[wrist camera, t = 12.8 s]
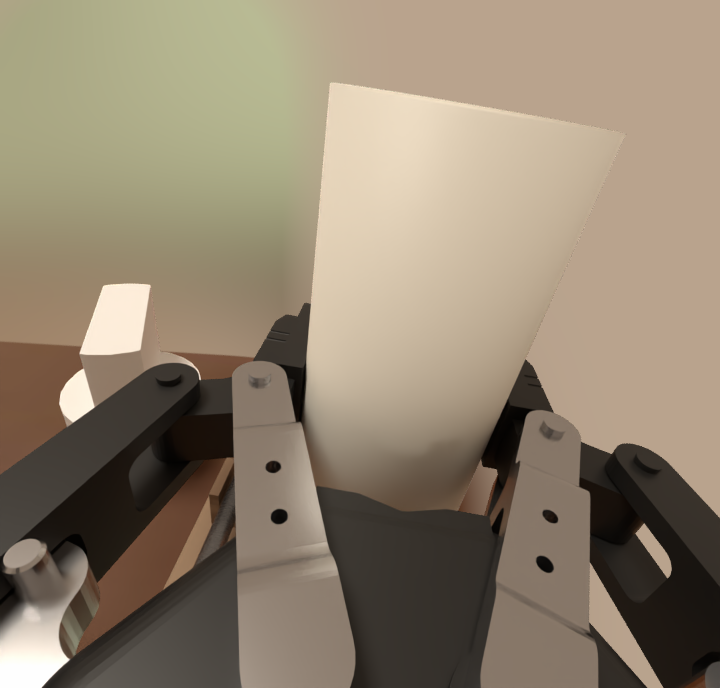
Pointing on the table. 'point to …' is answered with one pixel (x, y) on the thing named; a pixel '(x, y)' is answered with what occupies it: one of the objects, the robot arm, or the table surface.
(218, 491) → the rail stand
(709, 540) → the robot arm
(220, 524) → the metal rod
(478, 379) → the tall cream cylinder
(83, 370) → the cylinder with rectangular tab
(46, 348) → the table surface
